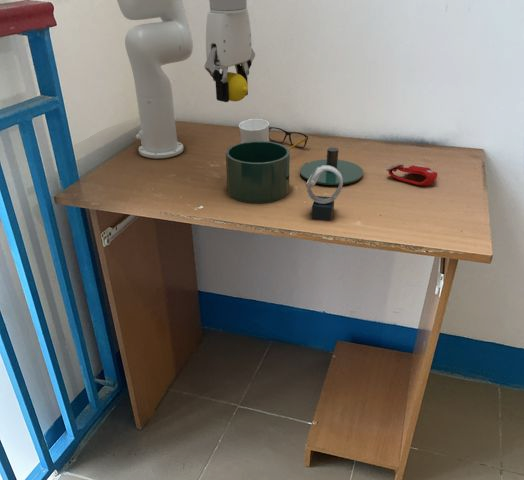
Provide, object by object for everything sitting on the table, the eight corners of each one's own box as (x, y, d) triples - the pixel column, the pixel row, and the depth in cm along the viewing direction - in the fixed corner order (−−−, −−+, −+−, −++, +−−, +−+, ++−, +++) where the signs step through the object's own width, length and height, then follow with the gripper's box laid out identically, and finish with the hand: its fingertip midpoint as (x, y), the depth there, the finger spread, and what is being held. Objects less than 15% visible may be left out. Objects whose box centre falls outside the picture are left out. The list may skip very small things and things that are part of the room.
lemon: (209, 100, 125) (207, 72, 122) (226, 94, 129) (225, 67, 125) (238, 106, 121) (238, 78, 118) (255, 100, 125) (254, 73, 121)
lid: (287, 177, 144) (288, 151, 140) (321, 158, 154) (323, 134, 150) (341, 192, 137) (343, 166, 132) (374, 172, 146) (377, 146, 142)
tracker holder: (424, 165, 147) (448, 169, 138) (420, 183, 148) (443, 188, 140) (384, 160, 142) (406, 164, 134) (381, 178, 144) (402, 183, 135)
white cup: (267, 168, 149) (265, 130, 142) (238, 167, 150) (235, 129, 144) (273, 155, 155) (271, 118, 148) (245, 154, 156) (242, 118, 149)
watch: (306, 207, 130) (308, 161, 123) (341, 210, 129) (345, 163, 122) (302, 218, 126) (304, 170, 119) (338, 221, 125) (342, 173, 118)
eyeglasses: (309, 148, 160) (310, 134, 158) (281, 164, 151) (281, 149, 149) (268, 139, 167) (268, 125, 164) (239, 153, 158) (238, 139, 155)
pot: (215, 192, 137) (212, 154, 131) (253, 173, 146) (252, 136, 140) (263, 208, 130) (263, 168, 124) (300, 187, 139) (302, 149, 133)
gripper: (241, -4, 120) (244, 87, 132) (184, 6, 110) (193, 103, 121) (269, -1, 117) (269, 92, 128) (213, 9, 106) (219, 109, 118)
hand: (232, 96), depth 125 cm, fingers closed on lemon, 5 cm apart
